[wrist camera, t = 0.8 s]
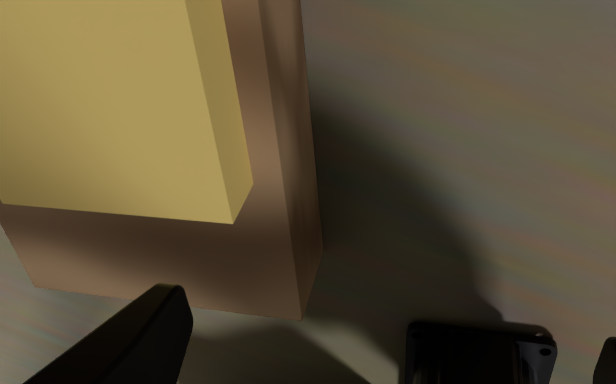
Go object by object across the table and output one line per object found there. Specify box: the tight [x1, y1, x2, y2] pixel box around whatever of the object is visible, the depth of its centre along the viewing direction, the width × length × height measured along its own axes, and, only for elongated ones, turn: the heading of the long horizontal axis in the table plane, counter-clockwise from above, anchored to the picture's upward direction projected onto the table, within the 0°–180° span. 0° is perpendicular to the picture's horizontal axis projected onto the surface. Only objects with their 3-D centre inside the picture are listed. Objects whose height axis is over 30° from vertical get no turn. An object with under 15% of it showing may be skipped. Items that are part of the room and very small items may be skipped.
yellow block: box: [0, 0, 253, 224], centre depth 16 cm, size 7×8×2 cm
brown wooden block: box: [0, 0, 323, 321], centre depth 19 cm, size 20×12×4 cm, turn 5°
